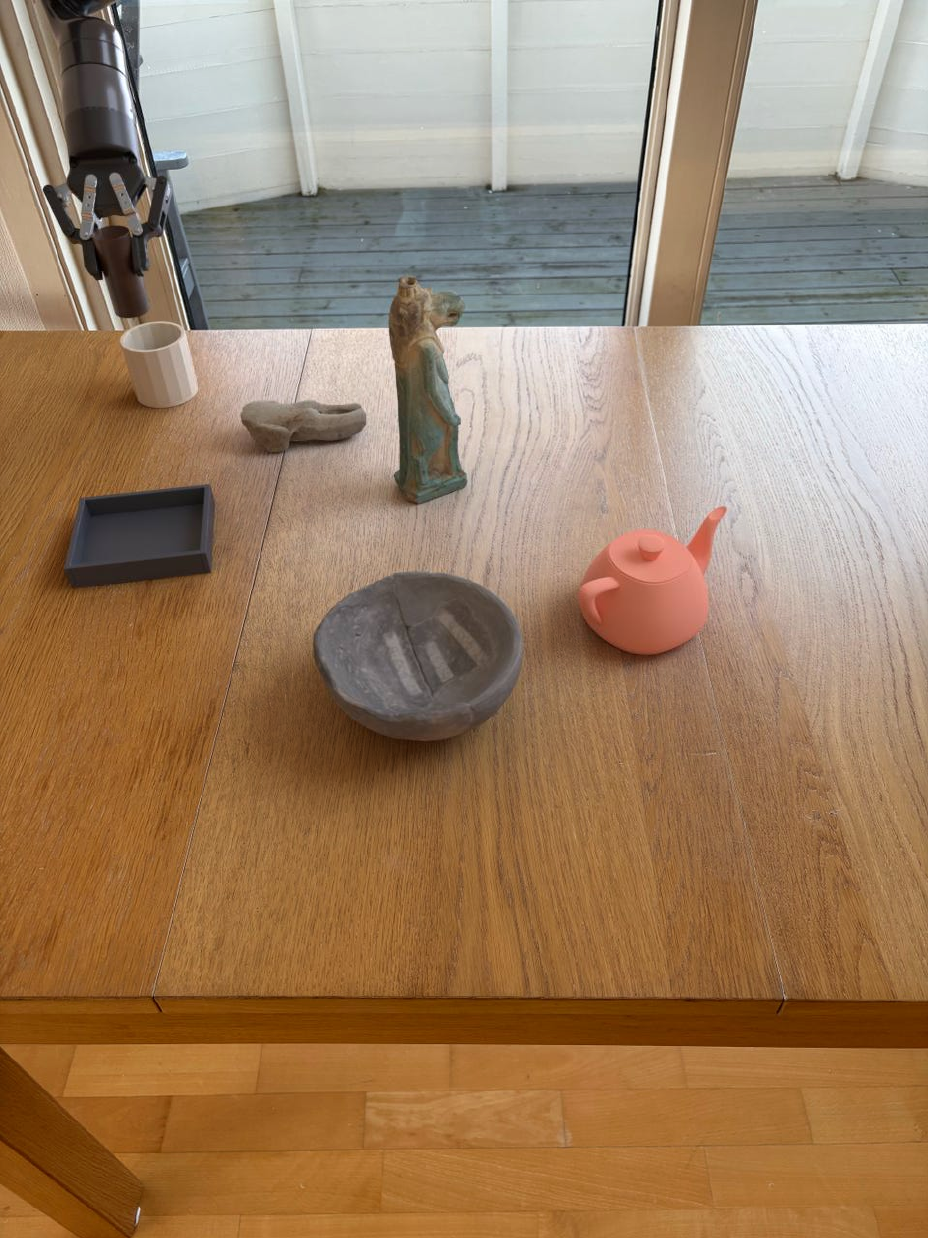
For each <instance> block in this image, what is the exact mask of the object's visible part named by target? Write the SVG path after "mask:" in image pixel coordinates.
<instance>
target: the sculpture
mask: <svg viewBox="0 0 928 1238" xmlns="http://www.w3.org/2000/svg"><path fill="white" fill-rule="evenodd" d="M240 419H241V420H240V421H241V423H242V425H243V426H244V427H245V428H246V430H247V431H248V433H249V435H250V437H251V438H252V439H253V440H254V441H256V442H257V443H259V444H260V445H262V446H264V447H265V448H266V450H267V451H268V452H271V453H280V452H281V453H282V452H286V451H287V450H288V449H289V447H290V442H307V441H311V440H317V441H337V440H338V441H339V440H345V439H349V438H352V437H354V436H356V435H358V434H359V433H361V432H363V430H364V428H365V427H366V425H367V413H366V411H365V410H364V408H363V407H362V405H361V404H360V403H357V402H352V403H346V404H345V403H344V404H328V403H321V402H318V401H317V400H314V399H307V400H301V401H297V402H293V403H281V402H279V401H278V400H277V401H276V400H254V401H251V402H249V403H247V404H245V405H244V406H243V407H242V411H241V412H240Z"/></svg>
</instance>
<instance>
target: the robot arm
mask: <svg viewBox="0 0 928 1238" xmlns="http://www.w3.org/2000/svg"><path fill="white" fill-rule="evenodd" d="M119 1H120V0H39V3H40V5H41V8H42V10H43V12H44V15H45V17H46V20H47V24H48V25H49V28H50V31H51V33H52V37H53V38H54V41H55V43H56V46H57V53H58V54H57V55H58V63H59V71H60V79H61V94H60V95H61V96H60V97H61V98H60V99H61V109H62V116H63V124H64V134H65V141H66V150H67V157H68V166H69V170H68V174H67V175H66V180H65V181H66V182H63V183H61V184H58V185H56V186H53V185H51V184H45V185H44V186H43V187H42V192H43V194H44V197H45V199H46V201H47V203H48V205H49V207H50V209H51V211H52V213H53V215H54V217H55V219H56V221H57V223H58V226H59V228H60V230H61V232H62V234H63V235H64V236H65V237H66V238H67V240H68V241H69V243H71V244H73V245H81V248H82V256H83V264H84V268H85V270H86V271H87V273H88V274H89V275H90V276H92V278H93V279H94V280H95V281H97V282H98V281H104V275H103V272H102V269H101V265H100V262H99V259H98V255H97V252H96V249H95V246H94V242H93V239H92V233H93V232H94V231H96V230H97V229H100V228H103V223H104V222H103V221H104V219H105V218H110V217H112V216H117V217H125V219H126V222H127V224H128V226H129V230H130V232H131V237H130V238H131V249H132V257H133V265H134V270H135V273H136V274H137V276H138V277H142V278H144V277H146V272H148V271H150V267H151V265H150V264H151V263H150V255H149V248H148V243H149V241H150V240H151V239H153V238H161V237H163V235H164V232H165V227H166V223H167V218H168V214H169V209H170V205H171V200H172V196H173V189H172V187H171V184H170V182H169V181H168V179H167V177H166V176H165V175H159V176H157V177H152V176H149V175H146V174H145V172H144V170H143V168H142V163H141V161H142V160H141V155H140V154H141V153H140V146H139V145H140V144H139V138H138V129H137V122H138V121H137V114H136V111H135V104H134V99H133V96H132V92H131V87H130V83H129V74H128V67H127V59H126V58H127V57H126V52H125V51H126V50H125V46H124V41H123V38H122V36H121V33H120V32H119V30H118V29H117V28H116V26H114V25H113V24H112V23H111V22H109V21H108V20H105V19H103V18H100V17H96V16H94V15H96V14H97V13H99V12H101V11H102V10H104V9H106V8H108V7H110V6H112V5H113V4H115V3H117V2H119ZM147 189H148V194H149V196H150V198H151V202H150V208H149V212H148V216H147V221H145V222H142V219H141V217H140V215H139V212H138V209H137V207H136V206H137V205H138V203H139V201H140V199H141V197H142V196H143V195H144V192H146V190H147ZM72 195H74V196H75V198H76V199H77V200H78V201H79V202H80V203H81V210H80V216H81V221H80V228H79V227H76V226H75V224H74V222H73V220H72V218H71V215H70V213H69V212H68V208H69V207H70V205H71V200H70V197H71V196H72Z"/></svg>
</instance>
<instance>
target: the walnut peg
mask: <svg viewBox="0 0 928 1238" xmlns="http://www.w3.org/2000/svg"><path fill="white" fill-rule="evenodd" d="M130 237H132V234H131V230H130V228H129V227H127V226H125V225H107V226H102V228H100V229H97V230H96V231H94V232H93V233H92V239H93V242H94V246H95V249H96V252H97V255H98V259H99V262H100V265H101V269H102V273H103V280H104V282H105V285H106V288H107V291H108V294H109V299H110V302H111V305H112V308H113V312H114V314H115V316H116V317H118V318H121V319H136V318H139V317H143V316H145V315H146V314H148V313H149V312H150V310H151V304H150V301H149V297H148V294H147V290H146V286H145V283H144V279H143V277H138V276H137V274H136V273H135V270H134V265H133V257H132V249H131V238H130Z"/></svg>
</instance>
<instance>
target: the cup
mask: <svg viewBox="0 0 928 1238" xmlns="http://www.w3.org/2000/svg"><path fill="white" fill-rule="evenodd" d="M119 344H120V348H121V351H122V355H123V358H124V361H125V364H126V369H127V371H128V375H129V379H130V382H131V385H132V389H133V391H134V394H135V396H136V399H137V401H138V402H139V403H140V404H141V405H143V406H145V407H148V408H153V409H166V408H168V409H169V408H173V407H177V406H180V405H182V404H185V403H187V402H189V401H190V400H191V399H194V397H195V396H196V395H197V393H198V391H199V385H198V378H197V374H196V370H195V366H194V362H193V357H192V353H191V350H190V345H189V342H188V337H187V333H186V330H185V328H183V326H182V325H180V324H177V323H175V322H172V321H163V320H162V321H151V322H149V321H148V322H146V323H145V322H144V323H142V324H138V325H136V326H133V327H132V328H129V329H128V330H126V331H125V332H124V333H123V334H122V335H121V336H120V340H119Z"/></svg>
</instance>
